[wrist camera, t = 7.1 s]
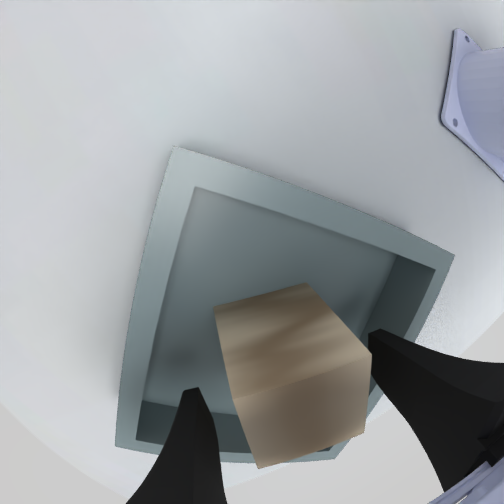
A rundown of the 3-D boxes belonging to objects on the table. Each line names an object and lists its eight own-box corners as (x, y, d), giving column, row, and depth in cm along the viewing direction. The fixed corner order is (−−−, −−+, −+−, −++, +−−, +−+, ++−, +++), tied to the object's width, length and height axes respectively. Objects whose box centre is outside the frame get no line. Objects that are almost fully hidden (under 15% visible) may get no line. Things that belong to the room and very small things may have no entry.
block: (306, 282, 14) (371, 354, 9) (313, 354, 16) (363, 432, 10) (213, 306, 14) (232, 399, 8) (233, 377, 15) (257, 468, 10)
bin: (409, 234, 16) (454, 254, 12) (314, 420, 19) (334, 459, 15) (178, 149, 12) (173, 145, 9) (122, 397, 15) (114, 446, 12)
